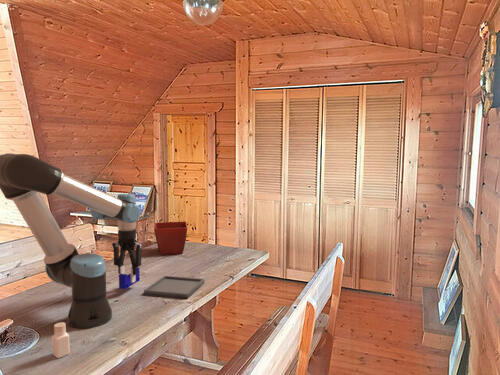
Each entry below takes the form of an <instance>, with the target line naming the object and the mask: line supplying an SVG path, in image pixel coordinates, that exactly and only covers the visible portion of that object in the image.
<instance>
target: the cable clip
mask: <svg viewBox="0 0 500 375" xmlns="http://www.w3.org/2000/svg"><path fill="white" fill-rule="evenodd" d="M140 279H141V278H140V266H139V267H137V274H136V281H135V282H133V283H131V272H130V273H127V274H126V273H125V274H119V273H118V288H119V289H120V290H126V289H128V288H130V287H131V286H133V285H135V284H136V283H138V282H140Z"/></svg>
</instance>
